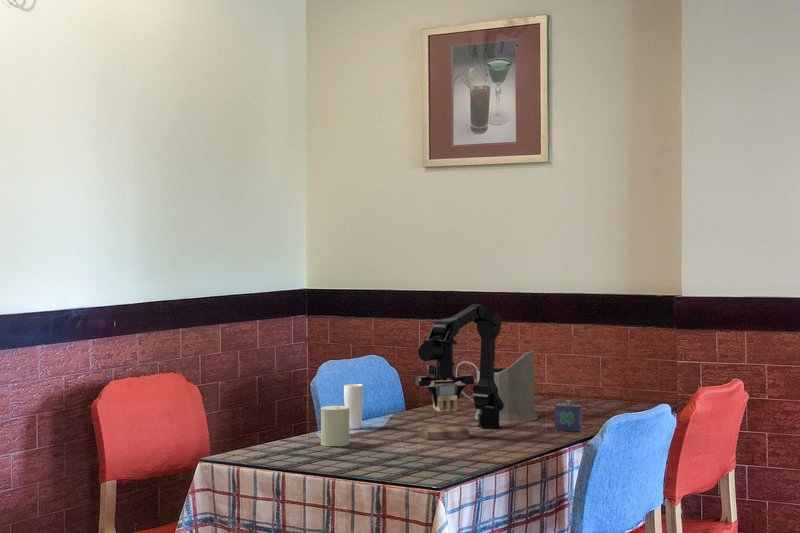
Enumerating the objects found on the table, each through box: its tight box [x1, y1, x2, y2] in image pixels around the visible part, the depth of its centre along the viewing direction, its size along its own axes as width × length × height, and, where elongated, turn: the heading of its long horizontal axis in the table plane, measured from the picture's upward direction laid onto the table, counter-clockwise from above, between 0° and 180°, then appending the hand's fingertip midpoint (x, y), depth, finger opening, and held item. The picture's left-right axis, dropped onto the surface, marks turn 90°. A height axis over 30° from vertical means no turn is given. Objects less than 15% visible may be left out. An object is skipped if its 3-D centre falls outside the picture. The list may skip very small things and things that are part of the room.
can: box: [320, 405, 351, 447], centre depth 313 cm, size 9×9×12 cm
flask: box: [554, 399, 583, 433], centre depth 334 cm, size 9×3×11 cm, turn 68°
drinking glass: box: [343, 383, 364, 430], centre depth 344 cm, size 7×7×15 cm
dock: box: [420, 425, 471, 441], centre depth 325 cm, size 14×9×2 cm, turn 103°
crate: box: [435, 383, 454, 396], centre depth 325 cm, size 5×5×3 cm
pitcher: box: [455, 350, 538, 423], centre depth 370 cm, size 23×32×25 cm
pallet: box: [432, 394, 458, 413], centre depth 325 cm, size 6×8×5 cm
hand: (445, 406), depth 325 cm, fingers closed on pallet, 6 cm apart
